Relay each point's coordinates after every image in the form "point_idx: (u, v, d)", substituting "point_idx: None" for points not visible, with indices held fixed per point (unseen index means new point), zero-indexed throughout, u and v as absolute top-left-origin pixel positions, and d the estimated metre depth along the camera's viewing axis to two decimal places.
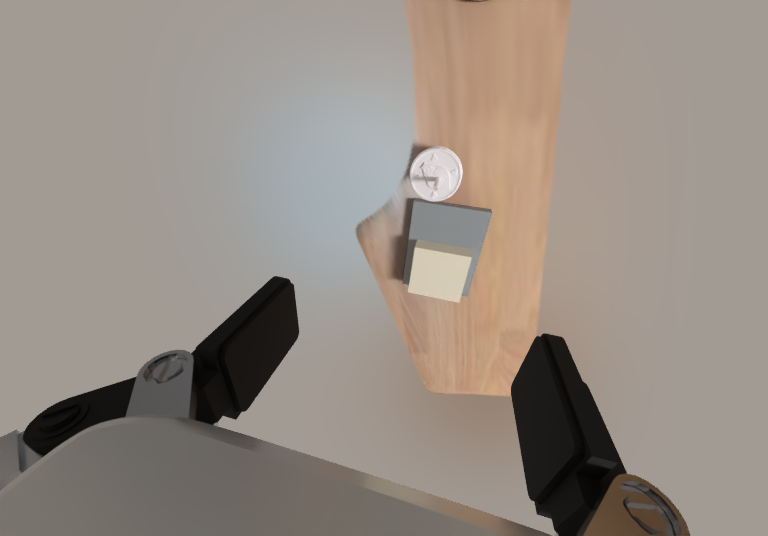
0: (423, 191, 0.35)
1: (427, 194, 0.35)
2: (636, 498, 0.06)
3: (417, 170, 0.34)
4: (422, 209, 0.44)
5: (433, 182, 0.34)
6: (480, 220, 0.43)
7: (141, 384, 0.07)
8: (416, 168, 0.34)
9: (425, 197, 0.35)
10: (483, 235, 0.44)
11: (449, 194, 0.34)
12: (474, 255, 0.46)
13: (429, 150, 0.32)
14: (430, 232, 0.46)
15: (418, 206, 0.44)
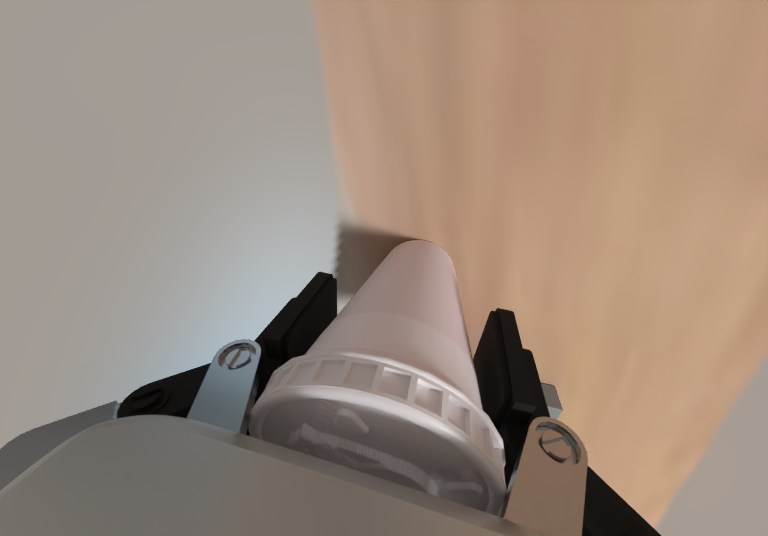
0: None
1: None
2: (547, 436, 0.06)
3: (282, 440, 0.07)
4: None
5: None
6: None
7: (218, 370, 0.07)
8: None
9: None
10: None
11: None
12: None
13: (315, 394, 0.05)
14: None
15: None
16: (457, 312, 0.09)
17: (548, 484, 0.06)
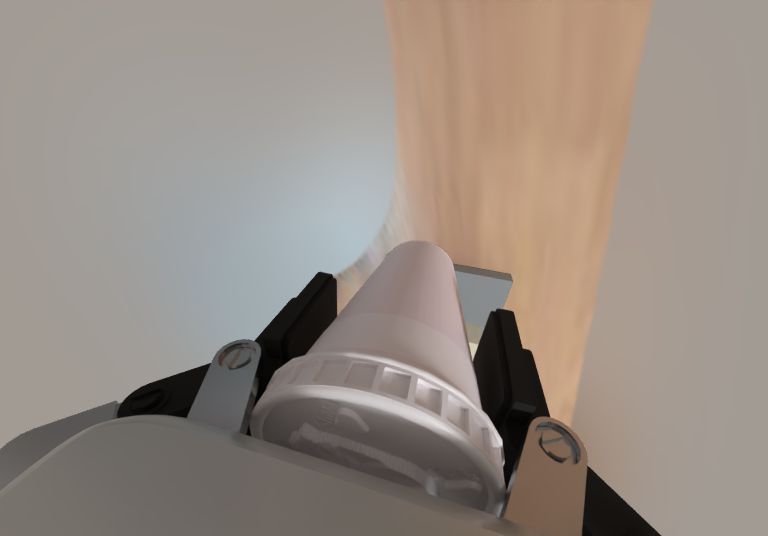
0: None
1: None
2: (547, 436, 0.06)
3: (283, 440, 0.07)
4: None
5: None
6: (495, 290, 0.29)
7: (219, 370, 0.07)
8: (278, 424, 0.07)
9: None
10: None
11: None
12: None
13: (316, 393, 0.05)
14: None
15: None
16: (457, 312, 0.09)
17: (548, 484, 0.06)
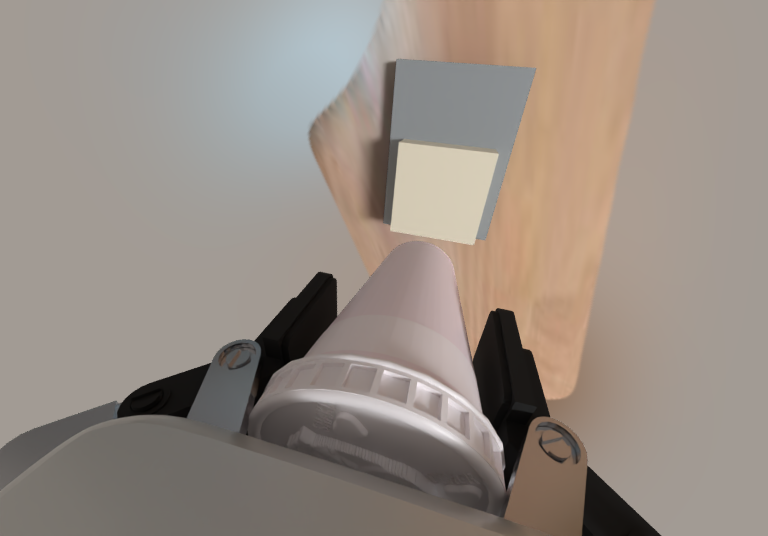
0: None
1: None
2: (547, 436, 0.06)
3: (281, 443, 0.07)
4: (411, 76, 0.26)
5: None
6: (514, 87, 0.24)
7: (219, 370, 0.07)
8: (276, 428, 0.07)
9: None
10: (517, 119, 0.25)
11: None
12: (499, 162, 0.27)
13: (314, 397, 0.05)
14: (426, 122, 0.27)
15: (405, 69, 0.25)
16: (457, 314, 0.09)
17: (548, 484, 0.06)
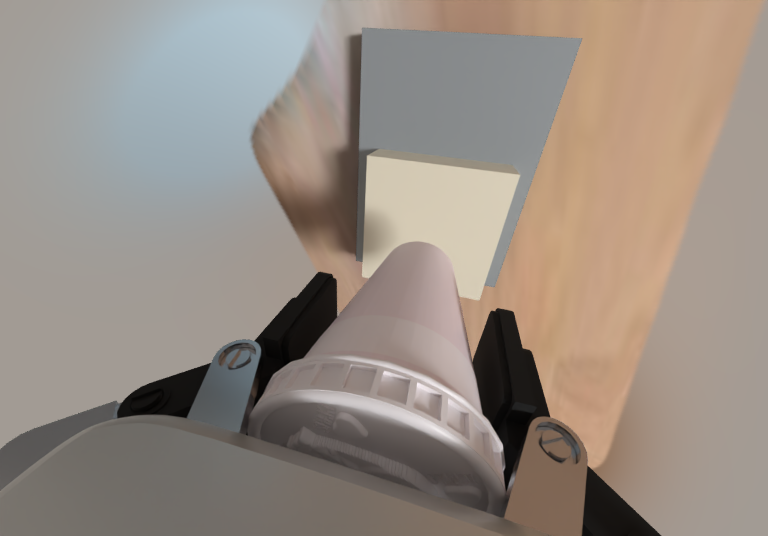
0: None
1: None
2: (547, 435, 0.06)
3: (281, 443, 0.07)
4: (385, 55, 0.17)
5: None
6: (544, 71, 0.15)
7: (219, 370, 0.07)
8: (276, 429, 0.07)
9: None
10: (548, 120, 0.16)
11: None
12: (518, 183, 0.19)
13: (314, 398, 0.05)
14: (409, 125, 0.18)
15: (375, 45, 0.17)
16: (457, 314, 0.09)
17: (548, 484, 0.06)
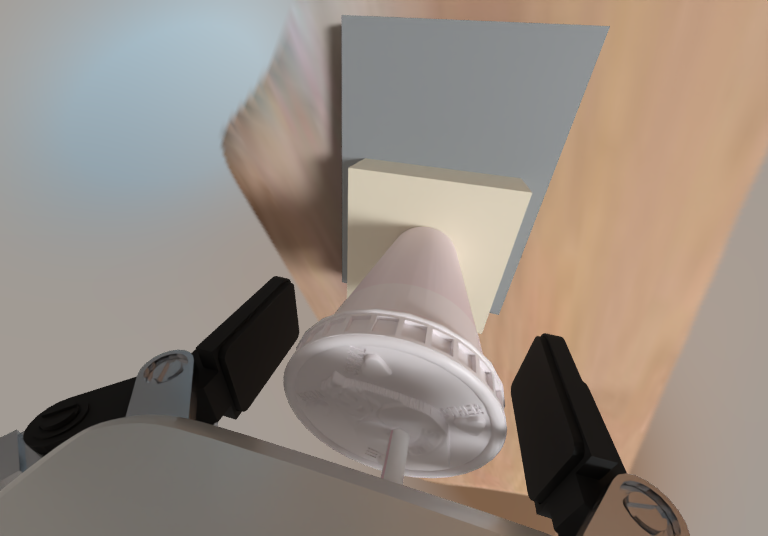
0: (348, 437, 0.09)
1: (362, 452, 0.09)
2: (636, 498, 0.06)
3: (313, 390, 0.08)
4: (370, 48, 0.14)
5: (380, 438, 0.08)
6: (561, 66, 0.13)
7: (141, 384, 0.07)
8: (308, 378, 0.08)
9: (357, 458, 0.09)
10: (565, 126, 0.14)
11: (447, 473, 0.08)
12: None
13: (348, 340, 0.06)
14: (399, 131, 0.16)
15: (358, 36, 0.14)
16: (461, 287, 0.11)
17: None
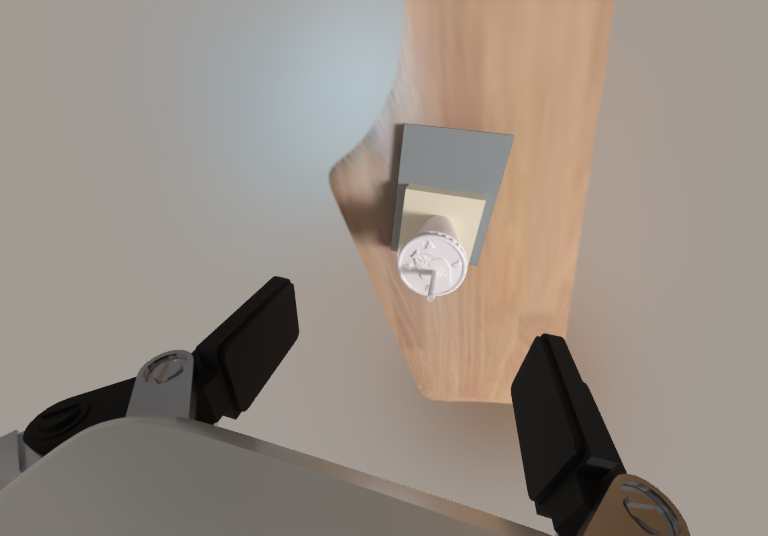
0: (415, 283, 0.27)
1: (420, 287, 0.26)
2: (636, 498, 0.06)
3: (407, 259, 0.25)
4: (416, 137, 0.32)
5: (428, 275, 0.25)
6: (497, 149, 0.31)
7: (141, 384, 0.07)
8: (406, 256, 0.25)
9: (418, 290, 0.27)
10: (501, 172, 0.31)
11: (449, 290, 0.26)
12: (487, 204, 0.33)
13: (423, 237, 0.24)
14: (427, 171, 0.33)
15: (411, 132, 0.32)
16: (455, 234, 0.28)
17: None
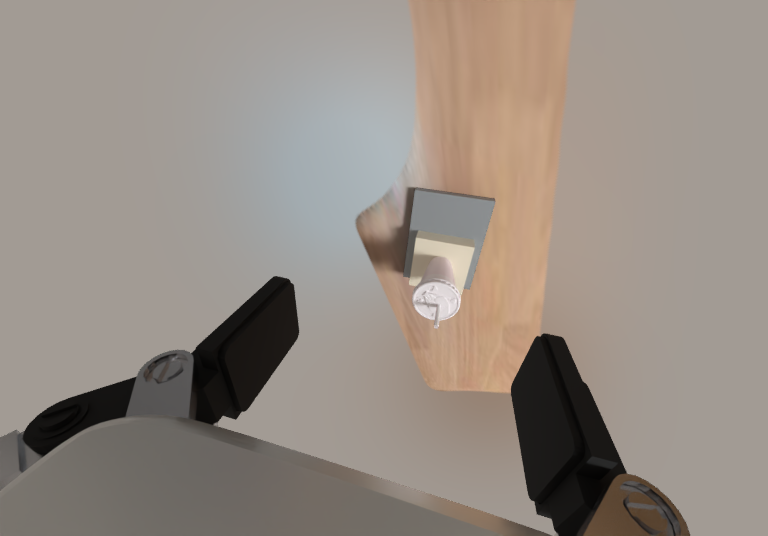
0: (424, 311, 0.38)
1: (428, 314, 0.38)
2: (636, 498, 0.06)
3: (419, 296, 0.37)
4: (423, 199, 0.43)
5: (434, 307, 0.37)
6: (483, 209, 0.42)
7: (141, 384, 0.07)
8: (418, 294, 0.37)
9: (426, 316, 0.38)
10: (486, 225, 0.43)
11: (448, 316, 0.37)
12: (476, 246, 0.45)
13: (430, 283, 0.35)
14: (432, 222, 0.45)
15: (419, 195, 0.43)
16: (452, 275, 0.40)
17: None
